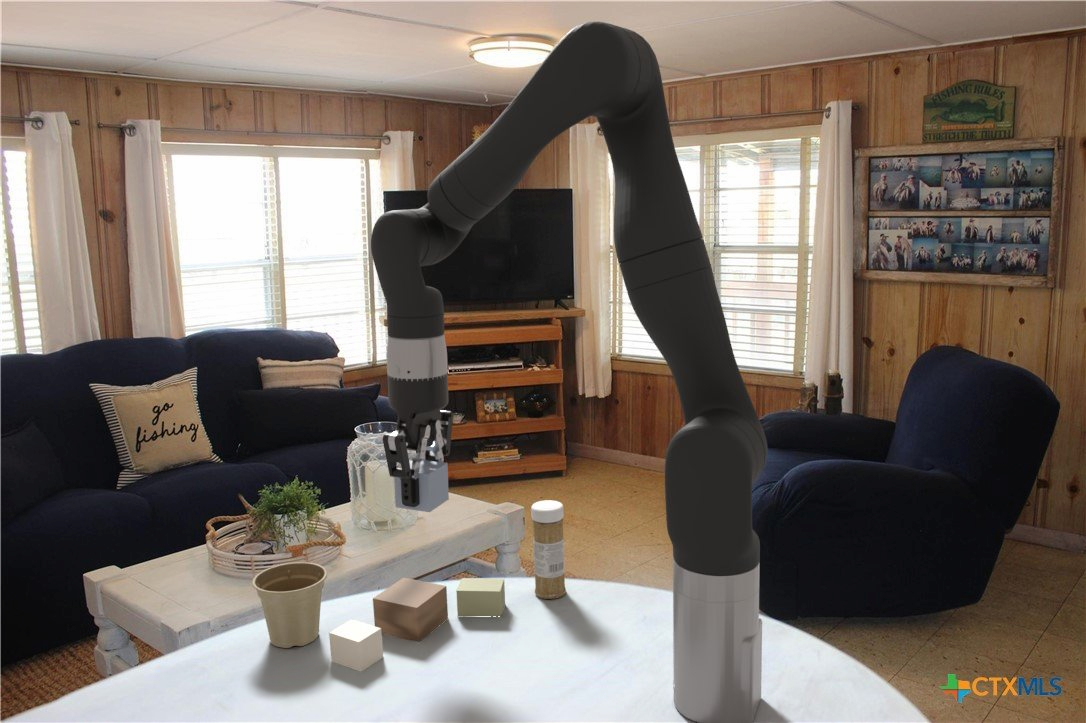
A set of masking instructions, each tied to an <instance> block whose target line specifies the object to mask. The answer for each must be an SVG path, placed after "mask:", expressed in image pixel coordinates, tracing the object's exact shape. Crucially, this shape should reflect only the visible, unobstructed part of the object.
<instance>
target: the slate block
mask: <svg viewBox="0 0 1086 723" xmlns="http://www.w3.org/2000/svg"><path fill="white" fill-rule="evenodd" d="M412 462H413V461H412V460H411V459H410V460H409V463H410V468H411V469H412ZM448 465H449V464H448V462H444V461H443V462H437V461H429V460H423V461H421V463H420V469H419V476H418V478H419V499H420V504H419V505H418V506H416V507H409V506H404V505H403V504H402V496H401V479H400V478H398V477H393V480H394V481H393V483H394V499H395V502H394V503H395V508H398V509H405V510H412V511H418V512H419V511H420V512H426V513H431V512H433V511H434V510H435V509H437V508H439V507H440V506H441V505H443V504H444V503H445V502H447V501H449V498H450V496H449V493H450V492H449V470H448V468H449V467H448Z"/></svg>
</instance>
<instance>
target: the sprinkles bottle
mask: <svg viewBox="0 0 1086 723" xmlns="http://www.w3.org/2000/svg"><path fill="white" fill-rule="evenodd" d="M530 507H531V509H530V514H531V517H530V518H531V519H532V520H531V521H532V530H533V532H532V533H533V537H532V540H533V541H532V543H533V570H534V582H535V588H534V593H535V595H536V596H537V597H539V598H540V599H541V598H542V599H545V600H554V599H559V598H560V597H563V596H564V595H565V594H566V592H567V590H566V589H567V588H566V583H565V581H566V580H565V575H566V574H565V573H566V572H565V571H566V568H565V540H564V526H563V525H564V524H563V521H564V518H565V515H564V514H565V513H564V512H565V511H564V504H563V503H562V502H560V501H558V500H550V499H548V500H545V499H544V500H539V501H536V502H534V503H533V504H532V505H531V506H530Z"/></svg>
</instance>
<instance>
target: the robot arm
mask: <svg viewBox="0 0 1086 723" xmlns="http://www.w3.org/2000/svg"><path fill="white" fill-rule="evenodd" d="M655 53H656V52H654V50H653V48H652V47H651V45H650V44H649V42H648V41H647V40H646V39H645V38H644V37H643V36H642V35H641V34H639V33H638V32H636V31H634V30H632V29H629V28H626V27H623V26H619V25H615V24H612V23H608V22H604V21H588V22H584V23H580V24H578V25H576V26H575V27H572V29H570V30H569V31H568V32H567V33H565V35H564V36H563V37H561V39H560V40H559V41H558V42H557V43H556V45H555V46H554V47H553V49H552V50H551V51H550V52H549V54H548V55H547V56H546V57H545V58H544V59H543V61H542V63H541V64H540V66H538V67H537V69H536V70H535V72H534V73H533V75H532V76H531V77H530V78H529V79H528V81H527V82H526V83H525V85H524V86H523V87H522V88H521V90H519V92H518V93H517V95H516V96H515V97H514V98H513V100H512V101H511V102H510V103H509V104H508V106H507V107H506V108H505V109H504V110H503V111H502V112H501V114H500V115H499V116H498V117H497V118H496V119H495V121H494V122H493V123H492V124H491V125H490V126H489V127H488V128H487V129H486V130H485V131H484V132H483V133H482V134H481V135H480V136H479V137H478V138H477V139H475V141H474V142H473V143H472V144H470V146H468V147H467V149H465V150H464V151H462V153H461V154H460V155H459V156H458V157H457V158H456V159H454V160H453V161H452V162H451V163H450V164H448V166H447V167H446V168H444V169H443V170H442V171H441V172H440V173H439V174H437V176H436V177H435V178H434V179H433V180H432V182H431V183H430V185H429V187H428V189H427V195H426V196H427V203H426V204H425V205H423V206H422V207H419V208H411V209H396V210H395V209H394V210H389V211H386V212H384V213H383V214H382V215H380V216H379V217H378V218H377V220H376V222H375V223H374V225H373V228H372V231H371V232H372V233H371V237H370V251H371V256H372V260H373V264H374V266H375V267H374V268H375V271H376V274H377V277H378V281H379V284H380V288H381V290H382V293H383V296H384V297H383V298H384V299H385V302H386V325H387V326H386V327H387V344H386V346H387V347H386V370H387V373H386V374H387V392H388V394H387V397H388V406H389V407H390V408H391V409H392V410H394V411H395V412H396V414H397V420H396V425H395V428H396V429H395V431H393V432H392V433H387V432H386V433H384V434H383V435H382V443H383V448H384V449H383V450H384V454H385V458H386V463H387V469H388V474H389V477H390V478H391V477H392V478H394V477H398V478H400V479H401V496H402V504H403V505H404V506H409V507H416V506H418V505H419V504H420V499H419V478H418V476H419V469H420V463H421V461H423V460H429V461H437V462H444V460H445V459H444V457H448V456H449V455H450V453H451V444H452V433H453V432H452V430H453V420H454V412H453V411H451V410H444V409H445V408H446V406H448V404H449V378H448V377H449V375H448V373H449V372H448V370H449V369H448V352H447V350H448V349H447V345H446V344H447V343H446V338H445V337H446V336H445V315H444V314H445V309H444V298H443V295H442V293H441V291H440V290H439V289H437V288H435V287H432V286H429V285H426V283H425V280H424V276H423V272H422V268H421V267H427V266H432V265H435V264H438V263H440V262H442V261H443V260H445V259H446V258H447V257H449V256H451V254H453V252H454V251H456V250H457V248H458V247H459V246H460V245H461V243H462V242H463V240H464V239H465V238H466V237H467V235H468V234H469V232H470V230H471V229H472V227H473V226H474V225H475V224H476V223H478V222H479V221H480V220H481V219H483V218H484V217H485V216H486V215H488V213H490V212H491V211H492V210H494V209H495V208H496V207H497V206H499V205H500V203H501V202H503V201H504V200H505V199H506V198H507V197H509V195H510V194H511V193H512V192H513V191H514V190H515V189H516V188H517V186H519V184H520V182H522V180H523V178H524V177H525V175H526V174H527V172H528V171H529V169H530V167H531V166H532V164H533V163H534V161H535V159H536V158H537V157H538V156H539V155H540V153H541V152H542V151H543V150H544V149H545V148H546V147H548V145H549V144H550V143H551V142H553V140H555V139H556V138H558V137H559V136H560V135H562V134H563V133H564V132H565V131H567V130H569V129H570V128H572V127H573V126H575V125H577V124H579V123H580V122H582V121H584V120H586V119H587V118H589V117H596V118H595V119H597V122H598V124H599V127H600V129H601V132H602V134H603V138H604V140H605V145H606V147H607V150H608V153H609V156H610V161H611V164H612V169H613V177H614V208H613V210H614V211H613V240H614V248H615V254H616V258H617V262H618V264H619V269H620V273H621V276H622V280H623V282H624V287H625V288H626V289H625V290H626V292H627V295H628V299H629V301H630V305H631V306H632V309H633V311H634V313H635V315H636V317H637V319H638V320H639V322H640V324H641V325H642V327H643V329H644V330H645V332H646V333H647V335H648V336H649V338H650V339H651V341H652V342H653V344H654V346H655V347H656V348H657V350H658V351H659V353H660V354H661V355H662V357H663V359H664V360H665V363H666V364H667V367H668V368H669V370H670V372H671V375H672V377H673V380H674V383H675V387H676V391H677V394H678V397H679V401H680V405H681V410H682V415H683V420H684V426H683V427H681V428H680V429H679V430H678V431H677V432H676V433H675V434H674V435H673V436H672V437H671V440H670V441H669V444H668V445H667V446H668V447H667V449H666V455H665V461H664V492H665V493H664V495H665V499H664V500H665V516H666V529H667V534H668V538H669V539H670V542H671V544H672V577H673V578H672V581H673V582H672V589H673V590H672V598H673V599H672V601H673V602H672V603H673V604H672V605H673V606H672V608H673V610H672V613H673V614H672V616H673V617H672V618H673V619H672V620H673V621H672V622H673V624H672V628H673V629H672V631H673V632H672V636H673V637H672V638H673V646H672V647H673V649H672V650H673V660H672V661H673V663H672V664H673V666H672V667H673V680H672V681H673V682H672V687H673V688H672V690H673V704H674V706H675V708H676V710H678V712H679V713H680V714H681V715H682V716H684V717H685V718H687V719H688V720H691V721H693V722H697V723H754V721H755V718H756V714H757V712H758V708H759V704H760V701H761V698H762V670H763V669H762V666H763V665H762V664H763V662H762V660H763V659H762V658H763V656H762V655H763V620H762V619H761V618H760V566H761V565H760V560H761V557H760V556H761V555H760V554H761V552H760V551H761V544H760V543H761V541H760V538H759V535H758V533H757V532H755V530H754V529H753V484H754V483H755V482H756V481H757V480H758V479H759V477H760V476H761V474H762V473H763V471H764V469H765V467H766V464H767V460H768V459H767V458H768V454H769V453H768V448H769V447H768V442H767V441H768V440H767V437H766V434H765V431H764V428H763V425H762V422H761V421H760V417H759V416H758V413H757V411H756V408H755V406H754V403H753V401H752V399H751V396H750V393H749V391H748V389H747V386H746V384H745V381H744V378H743V377H742V375H741V371H740V369H739V366H738V364H737V361H736V357H735V354H734V350H733V346H732V343H731V338H730V333H729V330H728V326H727V320H726V317H725V314H724V310H723V306H722V303H721V299H720V296H719V293H718V290H717V285H716V281H715V276H714V273H713V272H714V271H713V268H712V264H711V261H710V257H709V254H708V250H707V247H706V244H705V240H704V239H703V238H704V237H703V233H702V231H701V228H700V227H701V226H699V222H698V219H697V215H696V212H695V210H694V206H693V202H692V199H691V195H690V192H689V189H688V186H687V183H686V179H685V176H684V173H683V171H682V170H683V169H682V167H681V164H680V162H679V157H678V154H677V152H676V148H675V144H674V139H673V134H672V129H671V124H670V119H669V114H668V108H667V103H666V97H665V91H664V85H663V80H662V74H661V70H660V65H659V62H658V58H657V56H656V54H655ZM408 451H414V452H415V453H408ZM411 460H412V461H413V462H412V469H411V468H410V463H409V461H411ZM397 463H398V464H397Z"/></svg>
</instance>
